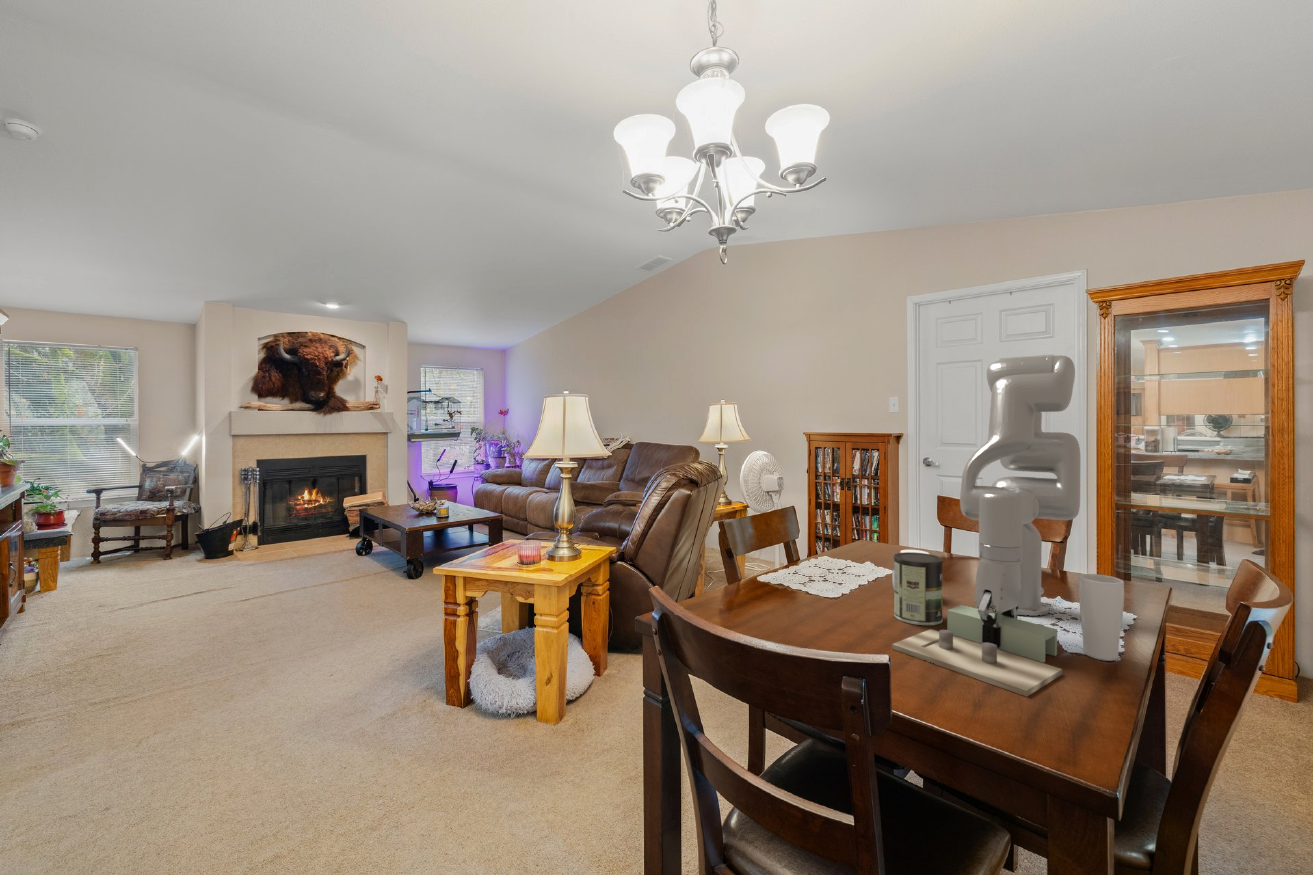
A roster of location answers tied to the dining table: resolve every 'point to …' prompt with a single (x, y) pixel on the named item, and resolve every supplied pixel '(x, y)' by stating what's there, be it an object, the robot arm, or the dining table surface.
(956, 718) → the dining table surface
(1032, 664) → the board
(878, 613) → the dining table surface
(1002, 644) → the long sage green beam
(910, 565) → the coffee can
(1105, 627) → the drinking glass
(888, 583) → the dining table surface
